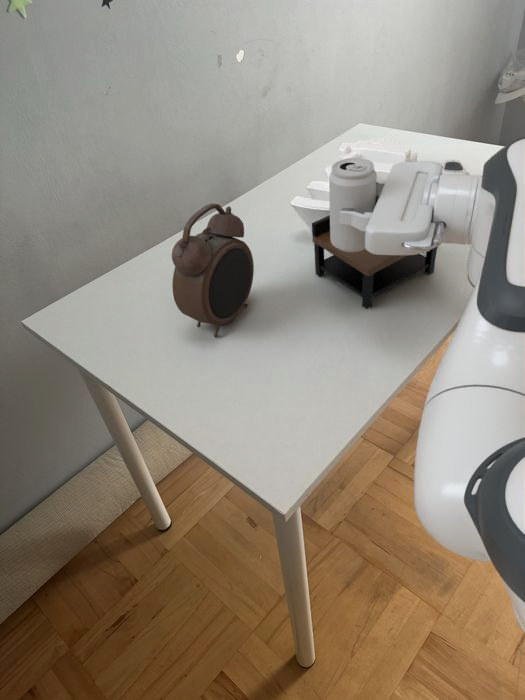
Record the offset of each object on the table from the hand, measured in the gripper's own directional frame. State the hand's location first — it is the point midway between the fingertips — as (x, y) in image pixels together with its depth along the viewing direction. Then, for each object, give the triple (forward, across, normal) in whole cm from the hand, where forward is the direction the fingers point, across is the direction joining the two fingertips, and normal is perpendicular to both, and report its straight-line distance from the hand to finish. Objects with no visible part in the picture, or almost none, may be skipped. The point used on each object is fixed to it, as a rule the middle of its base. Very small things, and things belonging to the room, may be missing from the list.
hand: (346, 202), depth 72 cm
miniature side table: (-2, +10, -19) cm, 21 cm away
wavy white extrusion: (+5, +33, -19) cm, 38 cm away
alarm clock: (+19, -8, -19) cm, 28 cm away
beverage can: (-1, 0, -7) cm, 7 cm away
